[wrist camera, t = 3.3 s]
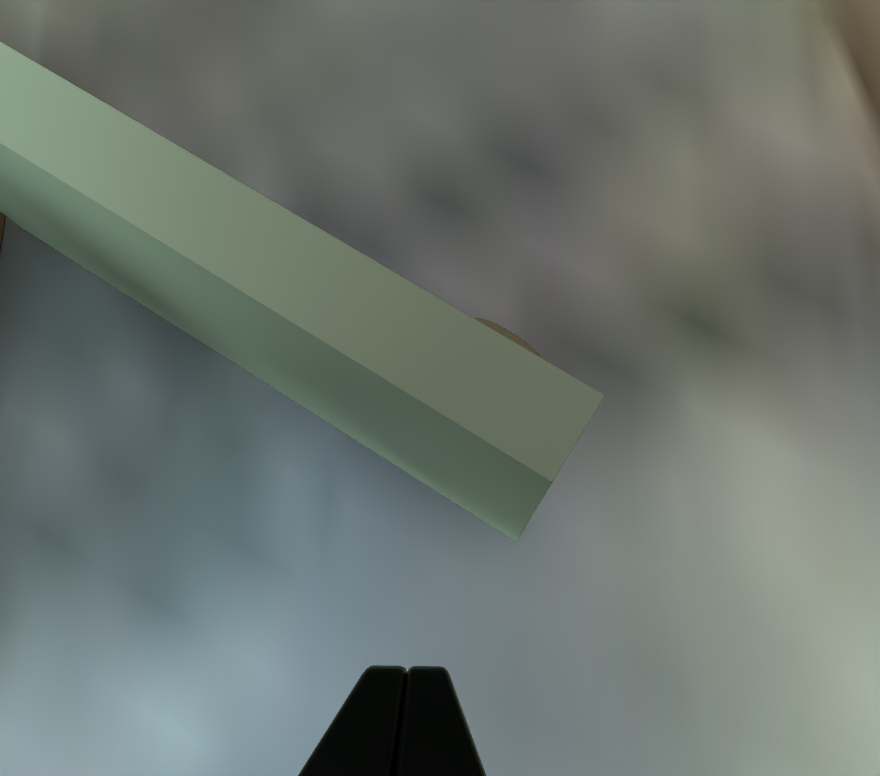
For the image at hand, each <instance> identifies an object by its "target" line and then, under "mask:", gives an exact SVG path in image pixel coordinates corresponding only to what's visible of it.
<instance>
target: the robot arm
mask: <svg viewBox="0 0 880 776" xmlns="http://www.w3.org/2000/svg"><path fill="white" fill-rule="evenodd" d="M298 776H486V774H485V771H484V768H483V766H482V763H481V760H480V757H479V755H478V752H477V749H476V746H475V744H474V741H473V738H472V735H471V733H470V730H469V727H468V724H467V722H466V719H465V716H464V713H463V711H462V708H461V705H460V702H459V700H458V697H457V694H456V691H455V689H454V686H453V683H452V680H451V678H450V675H449V673H448V671H447V670H446V669H445V668H444V667H441V666H413V667H411V668H409V670H408V672H407V671H406V669H405V668H404V667H402V666H380V665H374V666H370V667H368V668H367V669H366V670H365V671H364V673H363V674H362V675H361V677H360V679H359V680H358V682H357V683H356V685H355V686H354V688H353V690H352V691H351V693H350V694H349V696H348V698H347V699H346V701H345V702H344V704H343V705H342V707H341V709H340V710H339V712H338V713H337V715H336V716H335V718H334V720H333V721H332V723H331V724H330V726H329V728H328V729H327V731H326V732H325V734H324V735H323V737H322V739H321V740H320V742H319V743H318V745H317V746H316V748H315V750H314V751H313V753H312V754H311V756H310V758H309V759H308V761H307V762H306V764H305V765H304V767H303V769H302V770H301V772H300V773H299V775H298Z"/></svg>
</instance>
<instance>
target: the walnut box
mask: <svg viewBox="0 0 880 776" xmlns="http://www.w3.org/2000/svg"><path fill="white" fill-rule="evenodd" d="M4 220H5V215H4V214H3V213H1V212H0V247H1V240H2V233H3V227H4Z"/></svg>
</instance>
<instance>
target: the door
mask: <svg viewBox="0 0 880 776" xmlns="http://www.w3.org/2000/svg"><path fill="white" fill-rule="evenodd" d="M0 212H1V213H3V214H4V215H5V216H6V217H8V218H9V219H10V220H11V221H13V222H14V223H15V224H17V225H18V226H19V227H21V228H22V229H24V230H25V231H27V232H28V233H30V234H32V235H33V236H35V237H36V238H38V239H40V240H41V241H43V242H44V243H46V244H47V245H49V246H51V247H52V248H54V249H55V250H57V251H58V252H60V253H62V254H63V255H65V256H66V257H68V258H69V259H71V260H73V261H74V262H76V263H77V264H79V265H80V266H82V267H84V268H85V269H87V270H88V271H90V272H92V273H93V274H95V275H96V276H98V277H99V278H101V279H103V280H104V281H106V282H107V283H109V284H110V285H112V286H114V287H115V288H117V289H118V290H120V291H121V292H123V293H125V294H126V295H128V296H129V297H131V298H132V299H134V300H136V301H137V302H139V303H140V304H142V305H144V306H145V307H147V308H148V309H150V310H151V311H153V312H155V313H156V314H158V315H159V316H161V317H162V318H164V319H166V320H167V321H169V322H170V323H172V324H173V325H175V326H177V327H178V328H180V329H181V330H183V331H184V332H186V333H188V334H189V335H191V336H192V337H194V338H196V339H197V340H199V341H200V342H202V343H203V344H205V345H207V346H208V347H210V348H211V349H213V350H214V351H216V352H218V353H219V354H221V355H222V356H224V357H225V358H227V359H229V360H230V361H232V362H233V363H235V364H236V365H238V366H240V367H241V368H243V369H244V370H246V371H247V372H249V373H251V374H252V375H254V376H255V377H257V378H259V379H260V380H262V381H263V382H265V383H266V384H268V385H270V386H271V387H273V388H274V389H276V390H277V391H279V392H281V393H282V394H284V395H285V396H287V397H288V398H290V399H292V400H293V401H295V402H296V403H298V404H299V405H301V406H303V407H304V408H306V409H307V410H309V411H311V412H312V413H314V414H315V415H317V416H318V417H320V418H322V419H323V420H325V421H326V422H328V423H329V424H331V425H333V426H334V427H336V428H337V429H339V430H340V431H342V432H344V433H345V434H347V435H348V436H350V437H351V438H353V439H355V440H356V441H358V442H359V443H361V444H363V445H364V446H366V447H367V448H369V449H370V450H372V451H374V452H375V453H377V454H378V455H380V456H381V457H383V458H385V459H386V460H388V461H389V462H391V463H392V464H394V465H396V466H397V467H399V468H400V469H402V470H403V471H405V472H407V473H408V474H410V475H411V476H413V477H415V478H416V479H418V480H419V481H421V482H422V483H424V484H426V485H427V486H429V487H430V488H432V489H433V490H435V491H437V492H438V493H440V494H441V495H443V496H444V497H446V498H448V499H449V500H451V501H452V502H454V503H455V504H457V505H459V506H460V507H462V508H463V509H465V510H467V511H468V512H470V513H471V514H473V515H474V516H476V517H478V518H479V519H481V520H482V521H484V522H485V523H487V524H489V525H490V526H492V527H493V528H495V529H496V530H498V531H500V532H501V533H503V534H504V535H506V536H507V537H509V538H511V539H512V540H514V541H515V542H516V541H517V539H518V538H519V536H520V534H521V533H522V531H523V529H524V528H525V526H526V524H527V523H528V521H529V519H530V518H531V516H532V515H533V513H534V511H535V510H536V508H537V506H538V505H539V503H540V501H541V500H542V498H543V496H544V495H545V493H546V492H547V490H548V488H549V487H550V485H551V483H552V482H553V480H554V478H555V477H556V475H557V473H558V472H559V470H560V468H561V467H562V465H563V463H564V462H565V460H566V459H567V457H568V455H569V454H570V452H571V450H572V449H573V447H574V445H575V444H576V442H577V440H578V439H579V437H580V435H581V434H582V432H583V431H584V429H585V427H586V426H587V424H588V422H589V421H590V419H591V417H592V416H593V414H594V412H595V411H596V409H597V407H598V406H599V404H600V403H601V401H602V399H603V398H604V396H605V395H604V394H602V393H600V392H599V391H597V390H595V389H593V388H592V387H590V386H588V385H587V384H585V383H583V382H581V381H580V380H578V379H576V378H575V377H573V376H571V375H569V374H568V373H566V372H564V371H563V370H561V369H559V368H558V367H556V366H554V365H552V364H551V363H549V362H547V361H546V360H544V359H542V357H541V356H540V355H539V354H538V353H537V352H536V351H535V350H534V349H533V348H532V347H531V346H530V345H529V344H527V343H526V342H525V341H524V340H522V339H521V338H519V337H518V336H516V335H515V334H513V333H512V332H510V331H508V330H507V329H505V328H503V327H501V326H499V325H497V324H495V323H492V322H490V321H487V320H484V319H479V318H472V317H470V316H469V315H467V314H465V313H463V312H462V311H460V310H458V309H457V308H455V307H453V306H451V305H450V304H448V303H446V302H445V301H443V300H441V299H440V298H438V297H436V296H434V295H433V294H431V293H429V292H428V291H426V290H424V289H422V288H421V287H419V286H417V285H416V284H414V283H412V282H410V281H409V280H407V279H405V278H404V277H402V276H400V275H398V274H397V273H395V272H393V271H392V270H390V269H388V268H386V267H385V266H383V265H381V264H380V263H378V262H376V261H375V260H373V259H371V258H369V257H368V256H366V255H364V254H363V253H361V252H359V251H357V250H356V249H354V248H352V247H351V246H349V245H347V244H345V243H344V242H342V241H340V240H339V239H337V238H335V237H333V236H332V235H330V234H328V233H327V232H325V231H323V230H321V229H320V228H318V227H316V226H315V225H313V224H311V223H310V222H308V221H306V220H304V219H303V218H301V217H299V216H298V215H296V214H294V213H292V212H291V211H289V210H287V209H286V208H284V207H282V206H280V205H279V204H277V203H275V202H274V201H272V200H270V199H268V198H267V197H265V196H263V195H262V194H260V193H258V192H257V191H255V190H253V189H251V188H250V187H248V186H246V185H245V184H243V183H241V182H239V181H238V180H236V179H234V178H233V177H231V176H229V175H227V174H226V173H224V172H222V171H221V170H219V169H217V168H215V167H214V166H212V165H210V164H209V163H207V162H205V161H203V160H202V159H200V158H198V157H197V156H195V155H193V154H192V153H190V152H188V151H186V150H185V149H183V148H181V147H180V146H178V145H176V144H174V143H173V142H171V141H169V140H168V139H166V138H164V137H162V136H161V135H159V134H157V133H156V132H154V131H152V130H150V129H149V128H147V127H145V126H144V125H142V124H140V123H138V122H137V121H135V120H133V119H132V118H130V117H128V116H127V115H125V114H123V113H121V112H120V111H118V110H116V109H115V108H113V107H111V106H109V105H108V104H106V103H104V102H103V101H101V100H99V99H97V98H96V97H94V96H92V95H91V94H89V93H87V92H85V91H84V90H82V89H80V88H79V87H77V86H75V85H73V84H72V83H70V82H68V81H67V80H65V79H63V78H62V77H60V76H58V75H56V74H55V73H53V72H51V71H50V70H48V69H46V68H44V67H43V66H41V65H39V64H38V63H36V62H34V61H32V60H31V59H29V58H27V57H26V56H24V55H22V54H20V53H19V52H17V51H15V50H14V49H12V48H10V47H9V46H7V45H5V44H3V43H2V42H0Z"/></svg>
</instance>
